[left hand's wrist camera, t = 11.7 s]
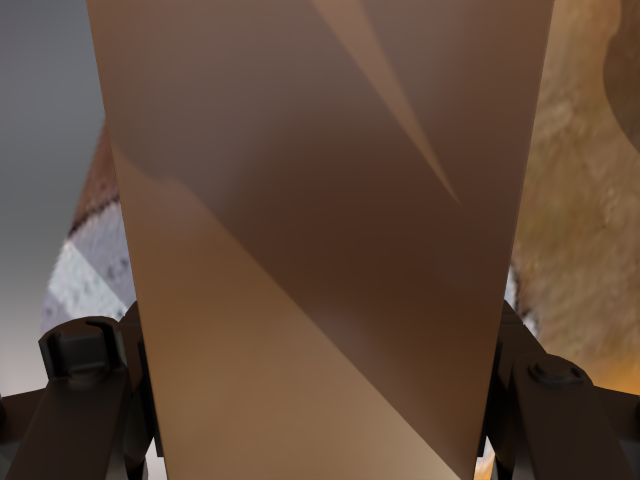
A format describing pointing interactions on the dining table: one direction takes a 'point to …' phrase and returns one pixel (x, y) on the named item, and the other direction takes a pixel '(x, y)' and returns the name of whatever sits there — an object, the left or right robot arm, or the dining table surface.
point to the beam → (320, 223)
